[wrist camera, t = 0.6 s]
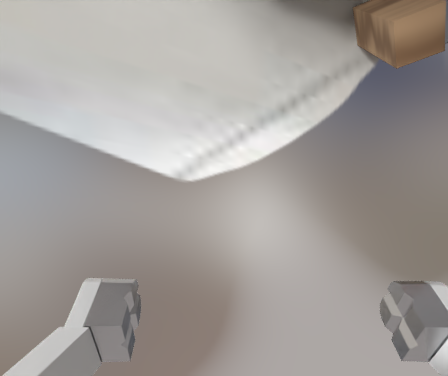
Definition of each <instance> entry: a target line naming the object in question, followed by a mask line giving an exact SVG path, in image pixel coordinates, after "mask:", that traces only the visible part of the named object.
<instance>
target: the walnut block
mask: <svg viewBox="0 0 448 376" xmlns="http://www.w3.org/2000/svg"><path fill="white" fill-rule="evenodd" d="M353 14H354V22H355V30H356V37H357V44H358V46H360V47H361V48H363V49H365V50H366V51H368V52H370V53H371V54H373V55H375V56H376V57H378V58H380V59H381V60H383V61H385V62H387V63H388V64H390V65H392V66H393V67H395V68H396V69H397V68H399V67H402V66H405V65H407V64H410V63H413V62H416V61H418V60H421V59H424V58H426V57H429V56H432V55H434V54H437V53H440V52H442V51H445V20H446V1H445V0H370V1H367V2H365V3H362V4H360V5H358V6H355V7H353Z"/></svg>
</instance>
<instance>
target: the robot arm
mask: <svg viewBox="0 0 448 376" xmlns="http://www.w3.org/2000/svg"><path fill="white" fill-rule="evenodd" d="M137 290H138V282H137V280H135V279H107V278H87V279H86V280H85V281H84V283H83V285H82V287H81V289H80V291H79V294H78V296H77V298H76V301H75V303H74V305H73V307H72V310H71V312H70V314H69V317H68V319H67V321H66V324H65V326H64V327H59V328H58V329H56V330H55V331H54V332H53V333H52V334H50V335H49V336H48V337H47V338H46V339H45V340H43V341H42V342H41V343H40V344H39V345H38V346H37V347H35V348H34V349H33V350H32V351H31V352H29V353H28V354H27V355H26V356H25V357H24V358H22V359H21V360H20V361H19V362H18V363H17V364H15V366H13V367H12V368H11V369H10V370H9V371H7V372H6V373H5V374H4V375H3V376H92V375H93V374H94V373H95V371H96V370H97V369H98V368H99V367H100V365H101V364H102V363H101V362H117V361H130V360H131V356H132V352H133V347H134V343H135V336H134V330H135V329H136V328H137V326H138V325H139V320H140V313H141V298H140V295H139V294H138V293H137ZM388 290H389V292H390V293H389V294H387V295H386V296H384V297H383V298H382V301H381V303H380V314H381V318H382V321H383V323H384V325H385V327H386V328H387V329H389V330H390V331H391V332H392V333H393V336H392V342H393V344H394V346H395V348H396V350H397V352H398V354H399V356H400V359H401V361H421V362H429V364H430V365H431V366H432V367H433V368H434V369H435V370H436V371H437V372H438V373H439V374H440V375H441V376H448V287H447V286H446V285H445V284H444V283H442V282H423V281H394V282H392V283H390V285H389V287H388Z"/></svg>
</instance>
